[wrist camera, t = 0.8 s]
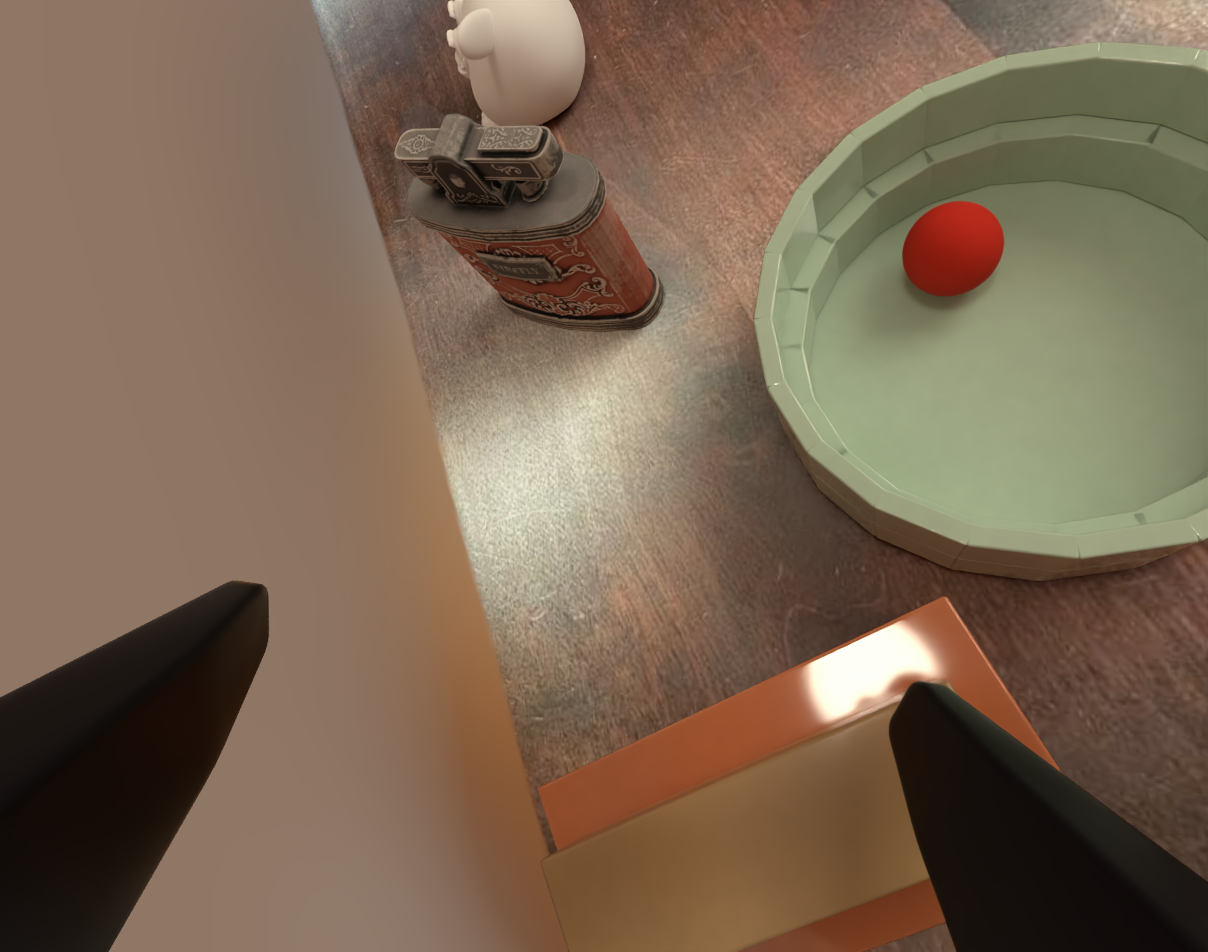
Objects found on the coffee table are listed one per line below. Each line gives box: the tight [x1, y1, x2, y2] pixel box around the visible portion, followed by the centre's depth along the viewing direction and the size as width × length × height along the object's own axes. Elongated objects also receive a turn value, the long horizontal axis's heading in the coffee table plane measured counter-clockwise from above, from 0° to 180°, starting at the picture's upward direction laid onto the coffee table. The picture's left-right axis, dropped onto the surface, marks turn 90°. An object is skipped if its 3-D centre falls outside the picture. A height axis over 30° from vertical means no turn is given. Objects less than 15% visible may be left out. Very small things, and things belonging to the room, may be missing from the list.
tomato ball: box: [902, 201, 1004, 296], centre depth 22 cm, size 3×3×3 cm
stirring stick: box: [541, 679, 959, 952], centre depth 12 cm, size 2×8×3 cm, turn 114°
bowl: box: [753, 42, 1208, 581], centre depth 20 cm, size 15×15×5 cm
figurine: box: [447, 0, 585, 127], centre depth 32 cm, size 8×6×7 cm
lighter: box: [395, 114, 665, 331], centre depth 25 cm, size 8×3×10 cm, turn 71°
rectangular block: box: [538, 596, 1062, 952], centre depth 17 cm, size 5×10×9 cm, turn 115°
